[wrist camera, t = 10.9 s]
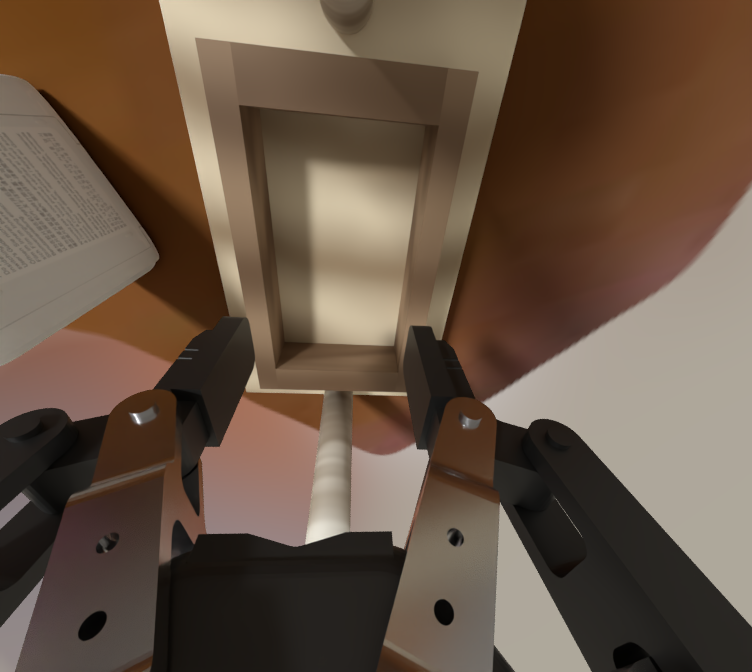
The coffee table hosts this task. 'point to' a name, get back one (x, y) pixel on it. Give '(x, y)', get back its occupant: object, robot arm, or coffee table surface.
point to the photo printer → (56, 225)
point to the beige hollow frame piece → (339, 183)
